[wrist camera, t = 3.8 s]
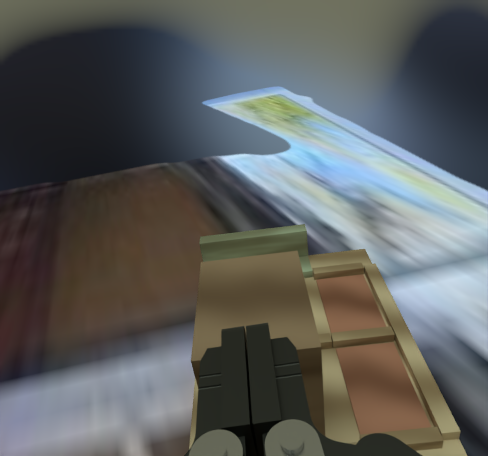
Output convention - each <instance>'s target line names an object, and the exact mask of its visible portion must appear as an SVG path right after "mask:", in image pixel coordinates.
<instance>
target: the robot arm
mask: <svg viewBox="0 0 488 456" xmlns="http://www.w3.org/2000/svg"><path fill="white" fill-rule="evenodd" d="M198 388H199V390H198V402H197V418H196V434H195V439H194V442H193V444H192V446H191V448H190V449H189V451H188V452H187V453H186V454H185V456H422V455H421V454H419V453H418V452H416V451H415V450H414V449H412V448H411V447H409V446H408V445H406V444H405V443H403V442H402V441H401V440H399V439H397V438H396V437H394V436H391V435H388V434H384V433H373V434H369V435H366V436H364V437H363V438H361V439H360V440H359V441H358V442H357V444H356V445H354V444H348V443H343V442H338V441H334V440H332V439H329V438H327V437H326V436H324V435H323V434H321V433H320V432H319V431H318V430H317V429H316V427H315V426H314V424H313V422H312V420H311V416H310V411H309V406H308V402H307V397H306V392H305V387H304V383H303V378H302V373H301V368H300V364H299V359H298V354H297V349H296V347H295V346H294V345H293V343H292V342H291V341H290V340H289V338H288V337H282V338H275V339H271V337H270V331H269V325H268V323H262V324H255V325H248V326H246V331H245V327H244V326H241V327H234V328H227V329H222V330H221V346H220V347H213V348H207V350H206V352H205V353H204V355H203V357H202V359H201V361H200V369H199V386H198Z"/></svg>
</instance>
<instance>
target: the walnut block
mask: <svg viewBox="0 0 488 456" xmlns="http://www.w3.org/2000/svg"><path fill="white" fill-rule="evenodd" d="M262 323H268V325H269V331H270V337H271V339H275V338H282V337H288V338H289V340H290V341H291V342H292V343H293V345H294V346H295V347H296V349H297V354H298V359H299V364H300V368H301V373H302V378H303V383H304V387H305V392H306V397H307V402H308V406H309V411H310V416H311V420H312V422H313V424H314V426H315V427H316V429H317V430H318V431H319V432H320V433H321V434H323V435H324V436H325V417H324V395H323V374H322V352H321V344H320V340H319V336H318V332H317V328H316V324H315V320H314V316H313V312H312V307H311V303H310V299H309V295H308V291H307V287H306V283H305V279H304V275H303V271H302V267H301V263H300V259H299V255H298V251H290V252H282V253H273V254H265V255H257V256H248V257H240V258H231V259H223V260H215V261H206V262H201V267H200V277H199V287H198V297H197V307H196V317H195V327H194V337H193V347H192V357H191V363H192V367H193V371H194V374H195V378H196V382H197V386H199V369H200V361H201V359H202V357H203V355H204V353H205V352H206V350H207V348H213V347H220V346H221V330H222V329H227V328H234V327H241V326H244V327H245V331H246V326H248V325H255V324H262ZM198 390H199V388H198Z"/></svg>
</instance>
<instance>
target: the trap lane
mask: <svg viewBox="0 0 488 456" xmlns="http://www.w3.org/2000/svg"><path fill="white" fill-rule="evenodd" d="M200 248H201V253H202V258H203V262H206V261H215V260H223V259H231V258H240V257H248V256H257V255H265V254H273V253H282V252H290V251H298V255H299V259H300V263H301V267H302V271H303V275H304V279H305V283H306V287H307V291H308V295H309V299H310V303H311V307H312V312H313V316H314V320H315V324H316V328H317V332H318V336H319V340H320V344H321V352H322V374H323V395H324V417H325V436H326V437H327V438H329V439H332V440H334V441H338V442H343V443H348V444H354V445H356V444H357V442H358V441H359V440H360V439H361V438H363V437H364V436H366V435H369V434H373V433H384V434H388V435H391V436H394V437H396V438H397V439H399V440H401V441H402V442H403V443H405V444H406V445H408V446H409V447H411V448H412V449H414V450H415V451H416V452H418V453H419V454H421V455H422V456H467V454H466V452H465V450H464V448H463V446H462V444H461V442H460V440H459V436H460V430H459V428H458V426H457V424H456V422H455V420H454V418H453V416H452V414H451V412H450V410H449V408H448V406H447V404H446V402H445V400H444V398H443V396H442V394H441V392H440V390H439V388H438V386H437V384H436V382H435V380H434V378H433V376H432V374H431V372H430V370H429V368H428V366H427V364H426V363H425V361H424V359H423V357H422V355H421V353H420V351H419V349H418V347H417V345H416V343H415V341H414V339H413V337H412V335H411V333H410V331H409V329H408V327H407V325H406V323H405V321H404V319H403V317H402V315H401V313H400V311H399V309H398V307H397V305H396V303H395V301H394V299H393V297H392V295H391V293H390V292H389V290H388V288H387V286H386V284H385V282H384V280H383V278H382V276H381V274H380V272H379V270H378V268H377V266H376V264H372V263H371V261H370V259H369V257H368V254H367V252H366V250H365V249H360V250H351V251H343V252H335V253H326V254H318V255H309V256H308V246H307V231H306V227H305V224H303V225H295V226H286V227H278V228H270V229H262V230H253V231H245V232H237V233H229V234H220V235H212V236H204V237H200ZM197 402H198V386H197V382H196V378H195V387H194V399H193V411H192V423H191V434H190V446H189V449H190V448H191V446H192V444H193V442H194V439H195V434H196V418H197Z"/></svg>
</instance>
